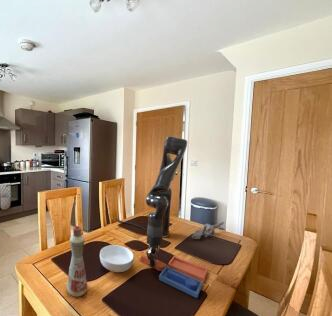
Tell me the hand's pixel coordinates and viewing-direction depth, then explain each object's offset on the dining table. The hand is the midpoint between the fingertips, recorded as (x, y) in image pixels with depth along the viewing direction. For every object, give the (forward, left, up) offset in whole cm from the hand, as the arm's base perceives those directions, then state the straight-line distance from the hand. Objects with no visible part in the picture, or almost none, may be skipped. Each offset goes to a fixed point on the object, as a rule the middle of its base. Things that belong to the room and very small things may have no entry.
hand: (152, 265), depth 101 cm
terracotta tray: (+14, +8, 0) cm, 17 cm away
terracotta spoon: (-1, 0, 0) cm, 1 cm away
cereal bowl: (-14, -14, 0) cm, 19 cm away
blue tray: (+14, -4, 0) cm, 15 cm away
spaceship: (+15, +59, 0) cm, 61 cm away
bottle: (-18, -38, 0) cm, 42 cm away
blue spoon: (+15, -4, 0) cm, 15 cm away
